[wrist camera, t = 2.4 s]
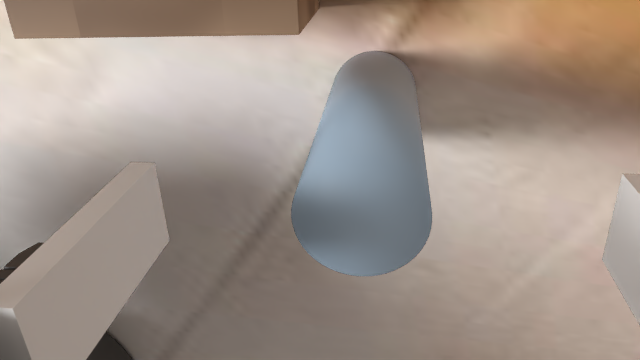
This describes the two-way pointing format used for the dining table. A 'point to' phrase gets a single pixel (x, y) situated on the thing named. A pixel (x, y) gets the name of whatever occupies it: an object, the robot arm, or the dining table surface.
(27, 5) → the brown hollow block
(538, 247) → the dining table surface
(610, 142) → the dining table surface
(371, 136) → the slate-blue dowel
